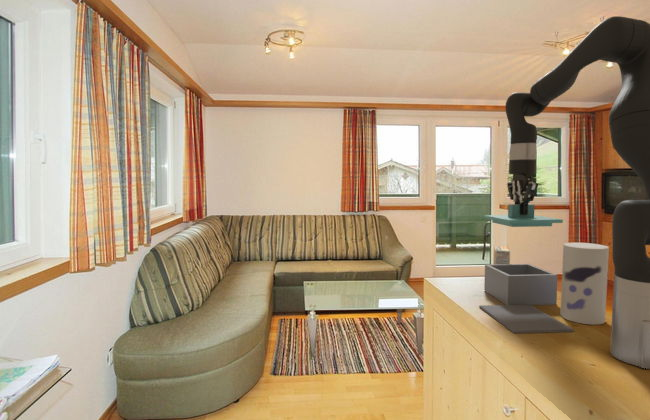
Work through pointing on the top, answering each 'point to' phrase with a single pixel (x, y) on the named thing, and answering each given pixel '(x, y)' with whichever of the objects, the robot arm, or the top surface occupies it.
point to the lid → (522, 218)
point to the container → (584, 282)
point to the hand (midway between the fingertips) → (520, 214)
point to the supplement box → (501, 255)
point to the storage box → (521, 284)
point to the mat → (525, 319)
